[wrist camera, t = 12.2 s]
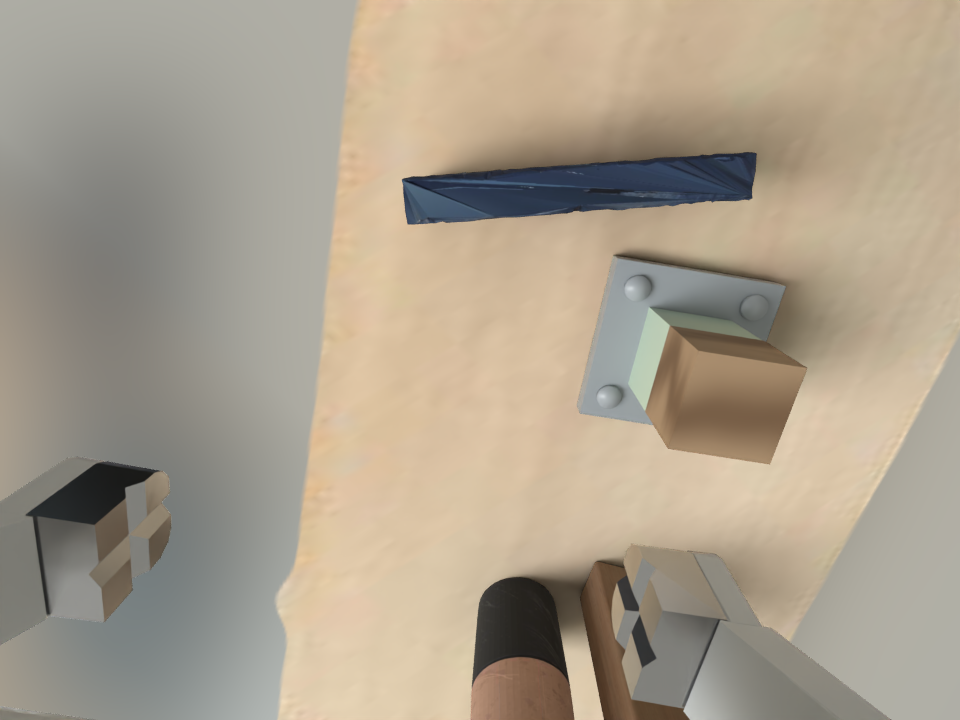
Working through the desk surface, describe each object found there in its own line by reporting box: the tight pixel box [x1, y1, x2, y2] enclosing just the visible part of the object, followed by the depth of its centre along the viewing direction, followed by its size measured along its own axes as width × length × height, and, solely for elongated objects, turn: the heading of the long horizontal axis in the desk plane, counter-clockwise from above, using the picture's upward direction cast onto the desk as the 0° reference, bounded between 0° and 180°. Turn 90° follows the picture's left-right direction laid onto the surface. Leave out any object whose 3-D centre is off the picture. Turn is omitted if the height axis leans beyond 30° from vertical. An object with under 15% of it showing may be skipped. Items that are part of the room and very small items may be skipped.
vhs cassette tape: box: [402, 152, 757, 224], centre depth 32 cm, size 18×3×10 cm, turn 93°
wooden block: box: [580, 562, 690, 720], centre depth 40 cm, size 9×4×18 cm, turn 75°
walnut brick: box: [645, 326, 807, 464], centre depth 32 cm, size 6×6×5 cm
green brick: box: [628, 307, 761, 410], centre depth 37 cm, size 6×6×5 cm
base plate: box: [577, 255, 786, 425], centre depth 40 cm, size 12×12×2 cm
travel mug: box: [471, 578, 574, 720], centre depth 40 cm, size 8×8×20 cm
